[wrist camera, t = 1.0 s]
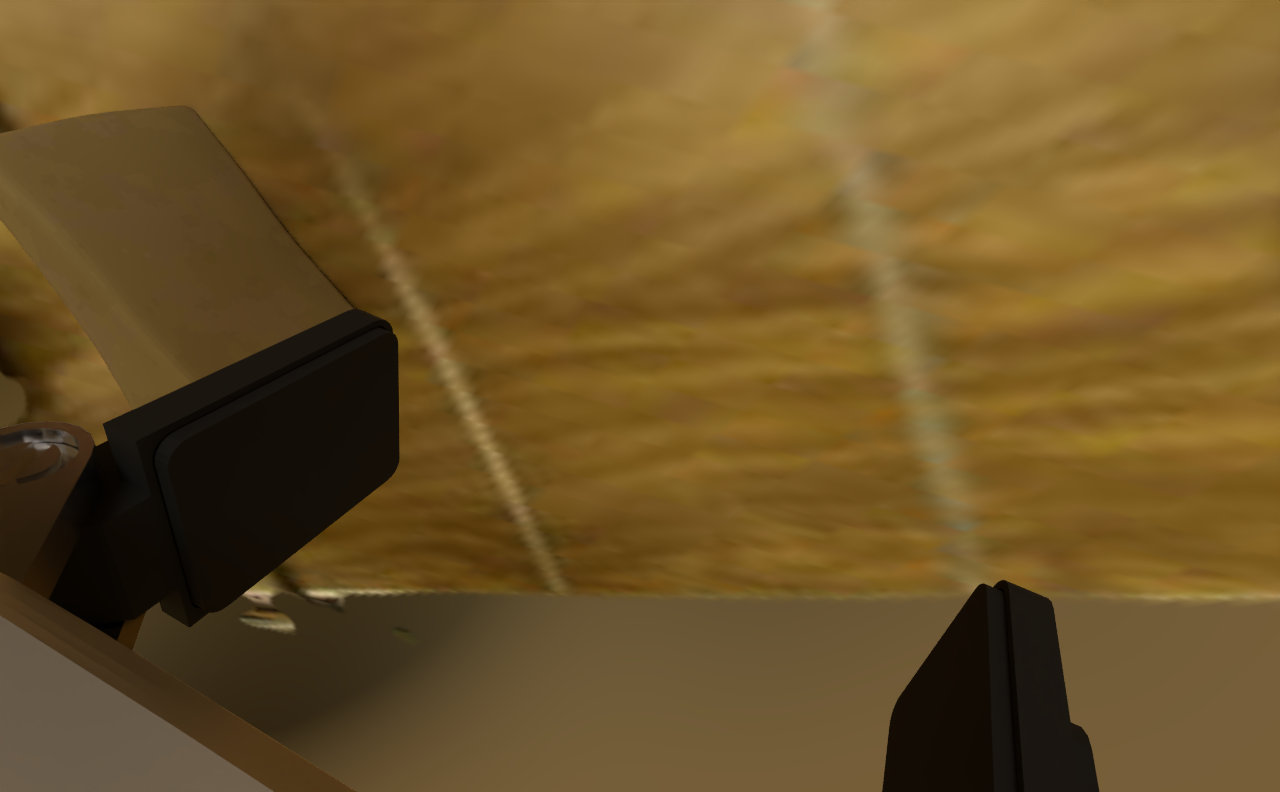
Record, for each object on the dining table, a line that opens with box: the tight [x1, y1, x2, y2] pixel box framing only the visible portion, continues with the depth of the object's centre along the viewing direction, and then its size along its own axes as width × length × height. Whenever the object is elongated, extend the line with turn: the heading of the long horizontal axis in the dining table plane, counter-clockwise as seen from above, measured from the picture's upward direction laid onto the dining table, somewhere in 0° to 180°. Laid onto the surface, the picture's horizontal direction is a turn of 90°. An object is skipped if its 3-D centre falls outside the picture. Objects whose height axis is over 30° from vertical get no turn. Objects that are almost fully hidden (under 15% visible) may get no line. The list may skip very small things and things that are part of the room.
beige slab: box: [0, 106, 354, 410], centre depth 48 cm, size 22×10×15 cm, turn 31°
